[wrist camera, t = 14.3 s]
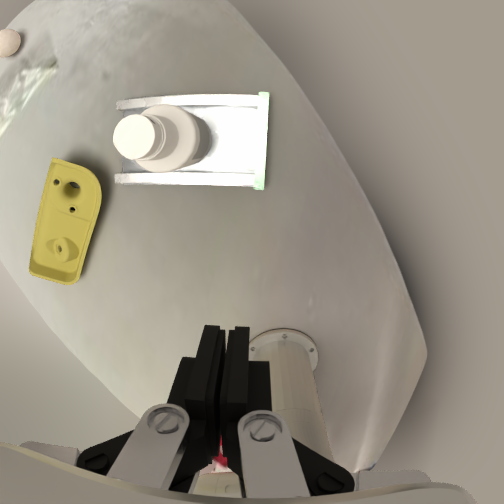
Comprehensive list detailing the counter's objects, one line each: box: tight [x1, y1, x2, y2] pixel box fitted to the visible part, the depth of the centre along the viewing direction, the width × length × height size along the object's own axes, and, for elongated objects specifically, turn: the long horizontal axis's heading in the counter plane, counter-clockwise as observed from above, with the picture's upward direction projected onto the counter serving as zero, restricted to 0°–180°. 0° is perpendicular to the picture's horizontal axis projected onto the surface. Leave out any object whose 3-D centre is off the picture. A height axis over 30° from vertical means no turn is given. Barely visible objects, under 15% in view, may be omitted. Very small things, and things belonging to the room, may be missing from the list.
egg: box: [0, 29, 21, 57], centre depth 26 cm, size 5×5×7 cm
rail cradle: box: [115, 92, 269, 190], centre depth 36 cm, size 12×19×4 cm, turn 87°
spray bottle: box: [113, 104, 212, 173], centre depth 28 cm, size 7×7×18 cm
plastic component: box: [29, 158, 102, 285], centre depth 39 cm, size 20×7×10 cm
